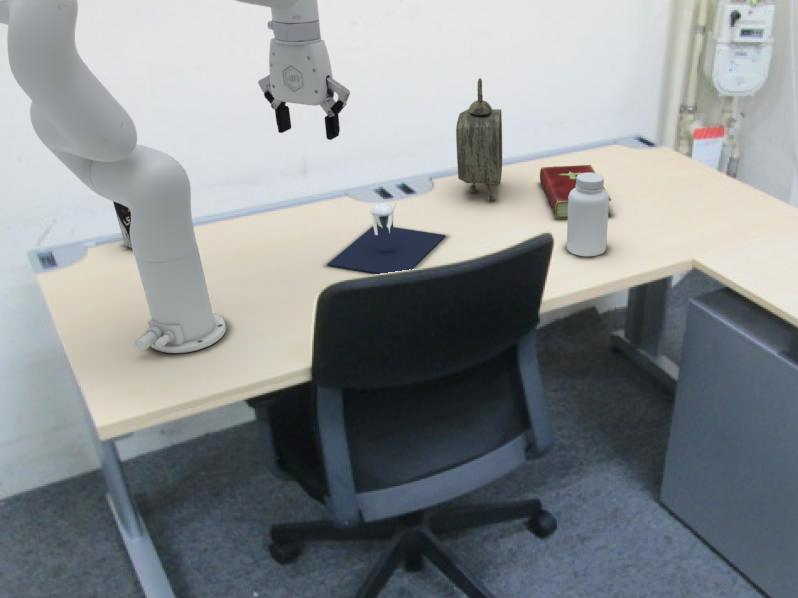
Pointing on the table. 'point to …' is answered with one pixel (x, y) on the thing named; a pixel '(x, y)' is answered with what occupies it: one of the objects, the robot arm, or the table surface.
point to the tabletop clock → (479, 144)
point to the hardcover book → (561, 186)
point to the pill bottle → (587, 216)
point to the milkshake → (383, 226)
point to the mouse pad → (403, 257)
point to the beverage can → (124, 221)
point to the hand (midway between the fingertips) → (308, 134)
